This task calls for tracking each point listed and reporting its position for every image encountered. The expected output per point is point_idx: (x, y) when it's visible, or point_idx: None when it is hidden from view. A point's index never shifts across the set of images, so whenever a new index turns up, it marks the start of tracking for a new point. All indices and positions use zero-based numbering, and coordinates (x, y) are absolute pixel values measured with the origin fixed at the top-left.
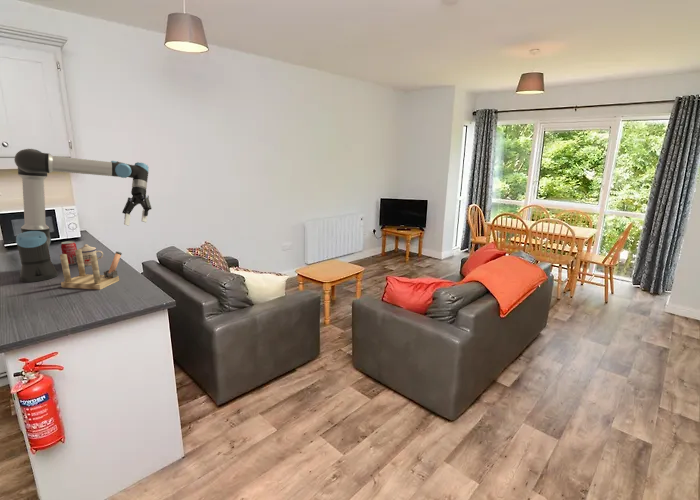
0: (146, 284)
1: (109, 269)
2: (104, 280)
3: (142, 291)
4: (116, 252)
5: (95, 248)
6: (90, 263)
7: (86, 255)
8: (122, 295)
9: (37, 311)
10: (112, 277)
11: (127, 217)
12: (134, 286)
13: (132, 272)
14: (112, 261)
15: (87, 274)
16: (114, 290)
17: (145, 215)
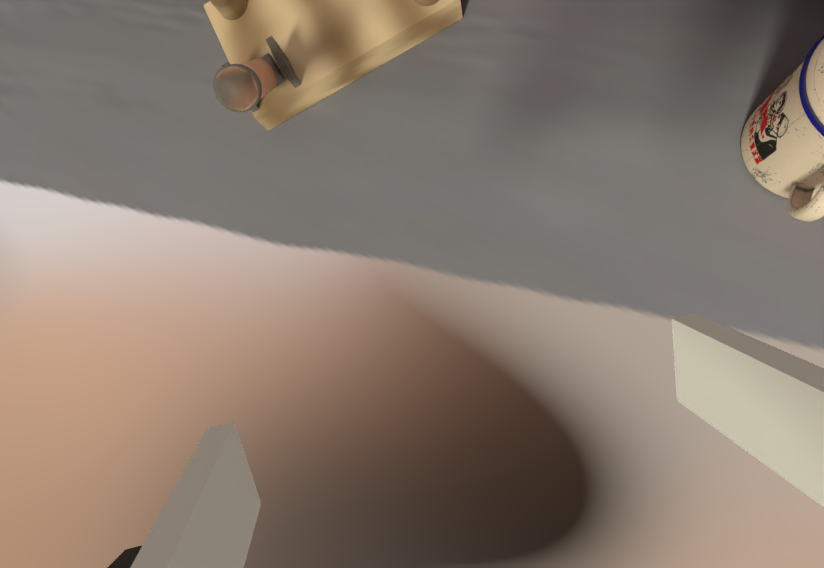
0: (107, 190)
1: (258, 59)
2: (244, 41)
3: (47, 134)
4: (227, 65)
5: None
6: (748, 130)
7: (791, 77)
8: (77, 60)
9: None
10: None
11: (801, 424)
12: (130, 141)
13: (347, 244)
14: (250, 62)
15: (425, 15)
16: (157, 60)
17: (132, 556)
